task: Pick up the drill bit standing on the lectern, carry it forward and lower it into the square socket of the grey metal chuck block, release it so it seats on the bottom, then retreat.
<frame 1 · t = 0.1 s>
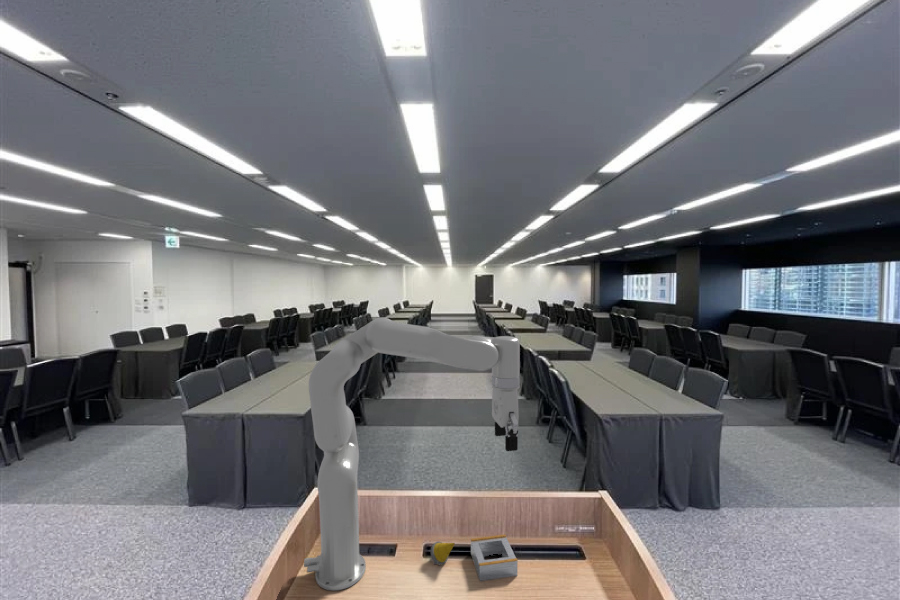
hand: (505, 442, 108), 31 cm above the lectern, fingers open, 9 cm apart
drill bit: (443, 562, 106), on the lectern
chuck block: (493, 564, 105), on the lectern
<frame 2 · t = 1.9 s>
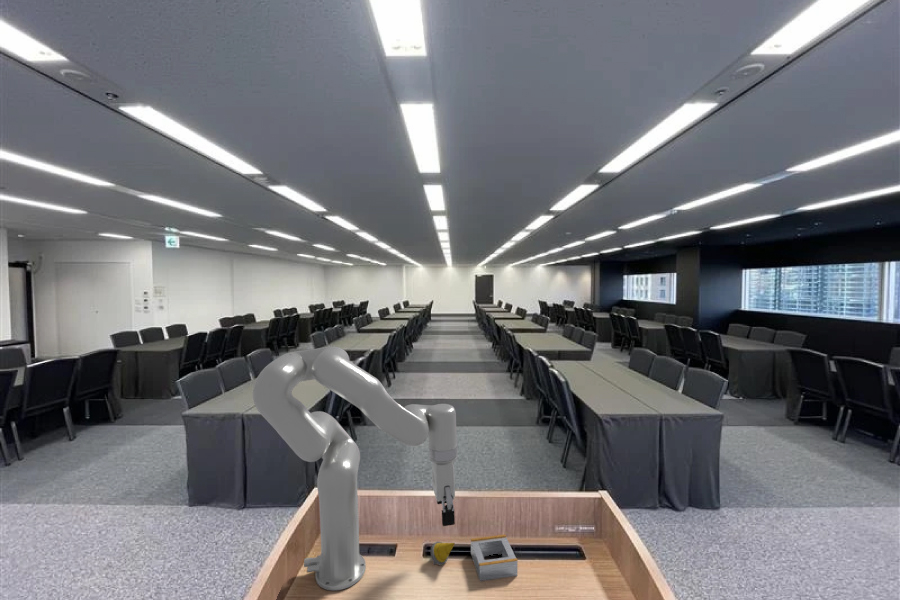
hand: (445, 513, 105), 13 cm above the lectern, fingers open, 9 cm apart
nothing on the lectern moved.
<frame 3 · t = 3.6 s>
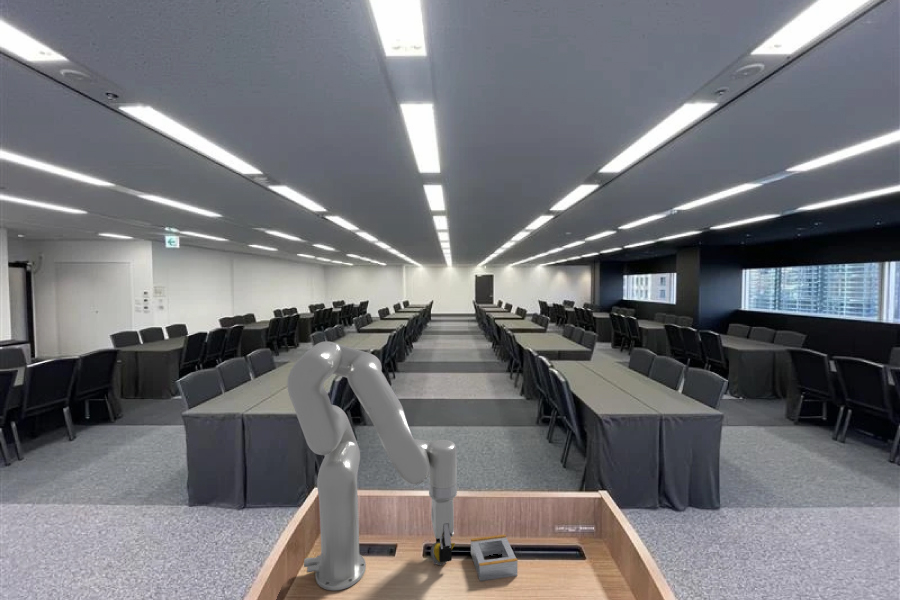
hand: (443, 551, 106), 3 cm above the lectern, fingers closed on drill bit, 5 cm apart
drill bit: (443, 562, 106), on the lectern, touching gripper
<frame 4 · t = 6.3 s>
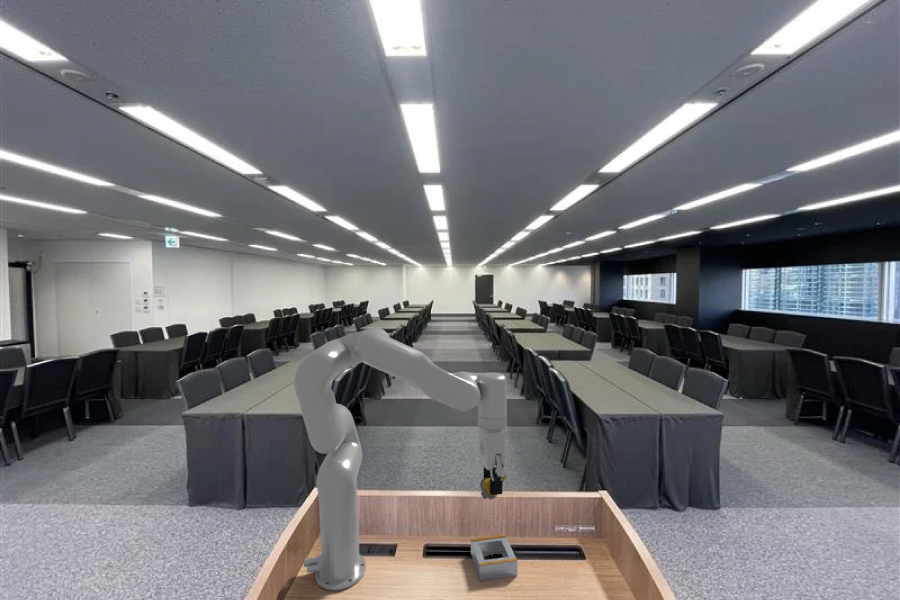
hand: (492, 487, 103), 21 cm above the lectern, fingers closed on drill bit, 5 cm apart
drill bit: (492, 497, 103), point 19 cm above the lectern, touching gripper
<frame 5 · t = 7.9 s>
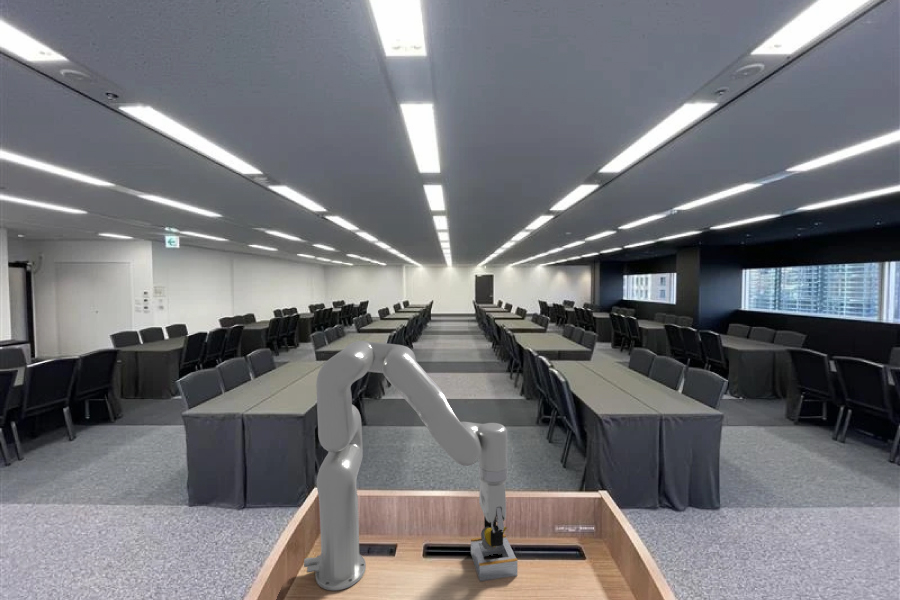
hand: (493, 536, 104), 8 cm above the lectern, fingers closed on drill bit, 5 cm apart
drill bit: (493, 547, 104), point 5 cm above the lectern, touching gripper
when the fingers open (5 cm above the lectern, at t = 9.1 s): drill bit drops 2 cm, resting on chuck block.
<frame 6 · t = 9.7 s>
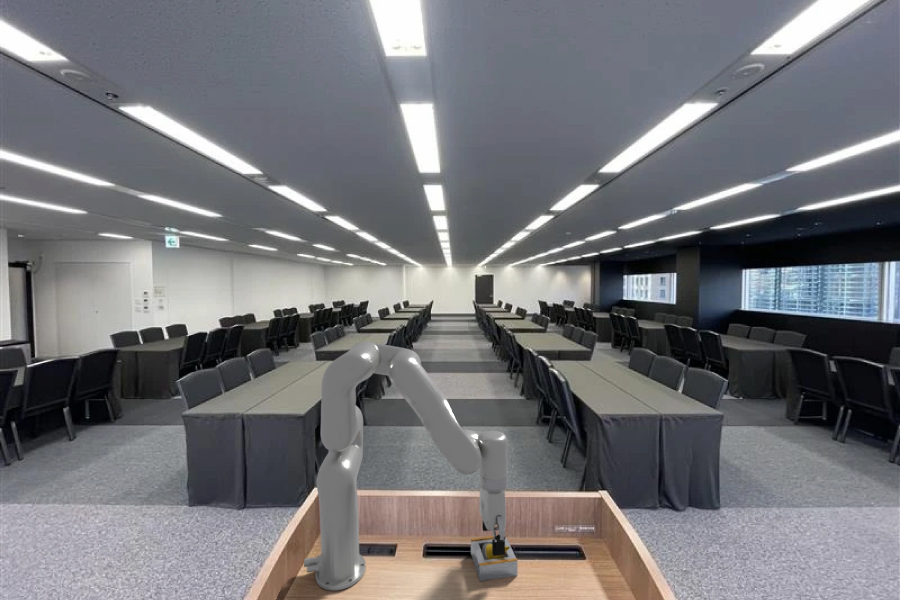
hand: (493, 541, 104), 6 cm above the lectern, fingers open, 9 cm apart
drill bit: (491, 565, 104), resting on chuck block
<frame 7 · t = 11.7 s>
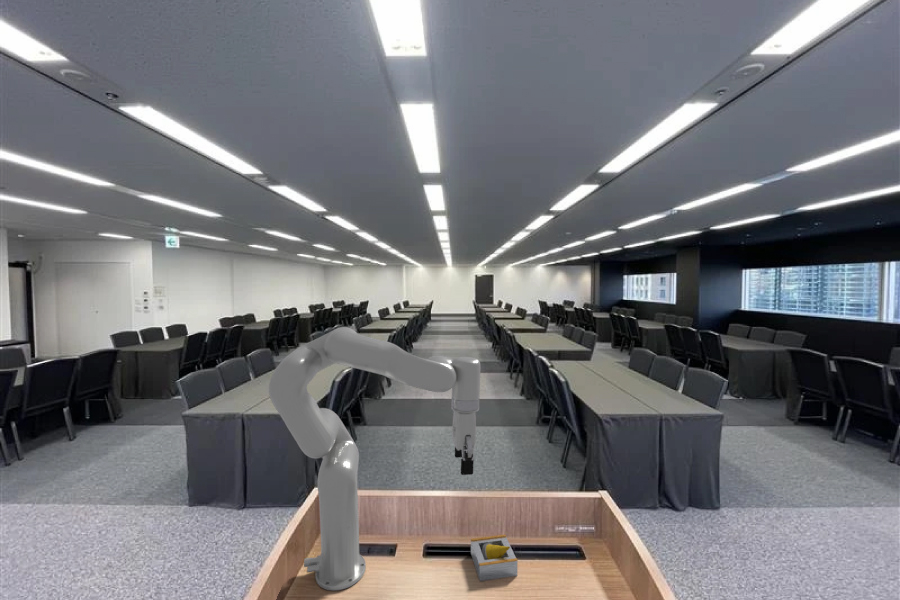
hand: (463, 465, 106), 26 cm above the lectern, fingers open, 9 cm apart
nothing on the lectern moved.
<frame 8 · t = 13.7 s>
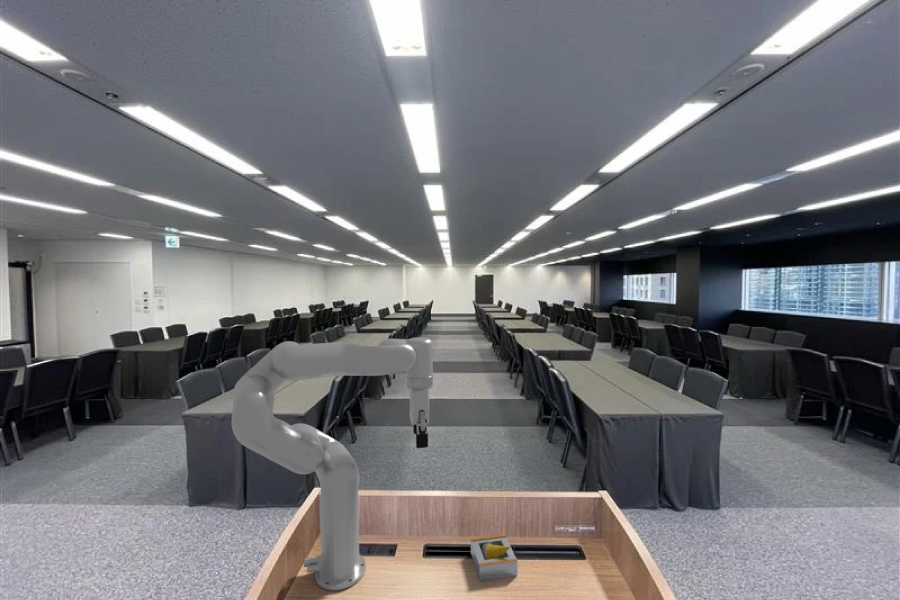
hand: (420, 440, 112), 30 cm above the lectern, fingers open, 9 cm apart
nothing on the lectern moved.
at the end: drill bit 0.6 cm off-centre on the chuck block, point 0.1 cm above the chuck block's base; drill bit tilted 14°; the gripper is holding nothing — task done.
